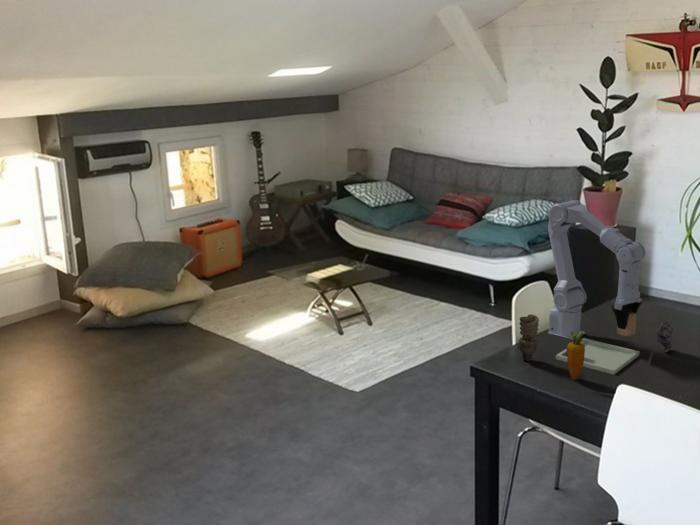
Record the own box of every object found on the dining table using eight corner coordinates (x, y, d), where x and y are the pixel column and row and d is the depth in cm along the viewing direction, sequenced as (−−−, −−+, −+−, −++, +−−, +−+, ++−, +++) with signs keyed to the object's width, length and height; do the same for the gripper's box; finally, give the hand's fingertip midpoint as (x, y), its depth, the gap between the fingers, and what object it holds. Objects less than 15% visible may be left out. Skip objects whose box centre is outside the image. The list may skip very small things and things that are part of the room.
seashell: (675, 354, 219) (677, 323, 217) (656, 354, 220) (658, 323, 218) (671, 348, 224) (673, 317, 222) (652, 347, 225) (655, 317, 223)
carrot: (562, 377, 206) (565, 328, 202) (579, 376, 207) (582, 327, 203) (569, 385, 202) (571, 335, 198) (586, 384, 202) (589, 333, 198)
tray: (555, 360, 218) (555, 355, 218) (582, 343, 231) (583, 337, 230) (613, 376, 206) (614, 370, 206) (639, 356, 219) (639, 351, 218)
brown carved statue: (538, 359, 219) (539, 312, 215) (536, 366, 214) (538, 319, 210) (519, 357, 221) (520, 311, 217) (517, 364, 216) (518, 317, 212)
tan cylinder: (614, 333, 220) (615, 314, 218) (620, 328, 224) (621, 310, 222) (631, 337, 217) (632, 318, 215) (637, 331, 221) (639, 313, 219)
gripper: (632, 291, 208) (629, 335, 212) (651, 279, 219) (647, 321, 222) (608, 287, 213) (605, 330, 217) (628, 275, 223) (625, 317, 227)
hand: (625, 325), depth 220 cm, fingers closed on tan cylinder, 5 cm apart
